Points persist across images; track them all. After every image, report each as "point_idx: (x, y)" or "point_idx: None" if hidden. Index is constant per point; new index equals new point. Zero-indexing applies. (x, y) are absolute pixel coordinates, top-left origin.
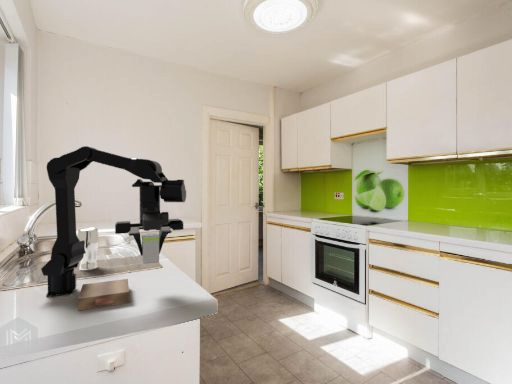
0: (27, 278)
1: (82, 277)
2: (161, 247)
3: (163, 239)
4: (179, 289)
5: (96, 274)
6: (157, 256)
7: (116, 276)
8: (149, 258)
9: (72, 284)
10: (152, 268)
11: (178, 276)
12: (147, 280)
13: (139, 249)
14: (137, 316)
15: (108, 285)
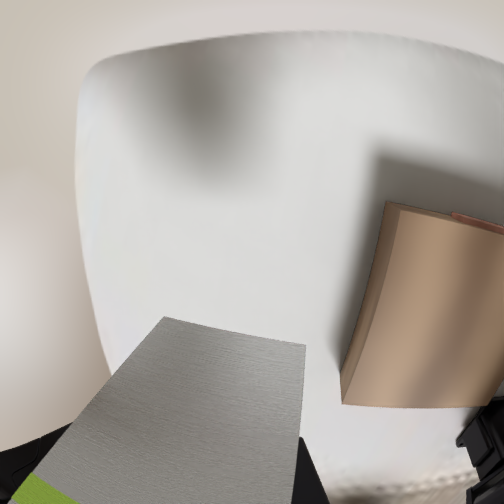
0: None
1: (403, 492)
2: None
3: (7, 458)
4: (142, 237)
5: (366, 500)
6: (152, 350)
7: (328, 478)
8: (235, 363)
9: (488, 426)
10: None
11: None
12: None
13: (318, 486)
14: (375, 33)
15: (441, 358)
